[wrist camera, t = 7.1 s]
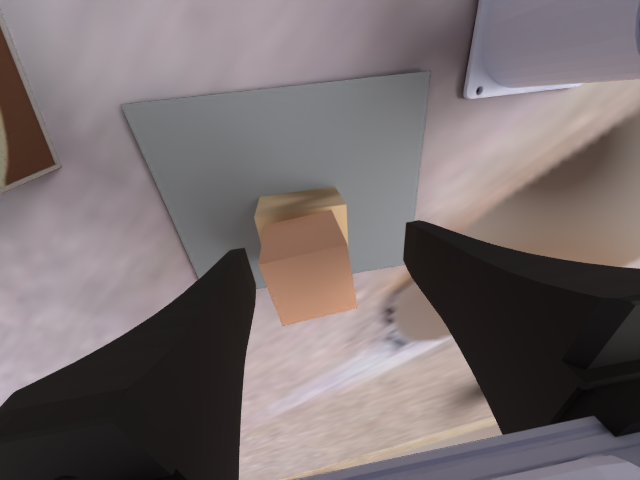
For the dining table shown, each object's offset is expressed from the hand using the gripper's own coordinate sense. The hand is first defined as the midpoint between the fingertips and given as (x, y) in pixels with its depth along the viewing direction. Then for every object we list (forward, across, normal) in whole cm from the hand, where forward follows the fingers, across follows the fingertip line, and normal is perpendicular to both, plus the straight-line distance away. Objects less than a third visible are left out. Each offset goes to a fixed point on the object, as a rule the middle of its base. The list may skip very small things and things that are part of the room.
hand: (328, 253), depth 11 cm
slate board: (+10, +1, +1) cm, 10 cm away
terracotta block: (+6, +1, +3) cm, 6 cm away
